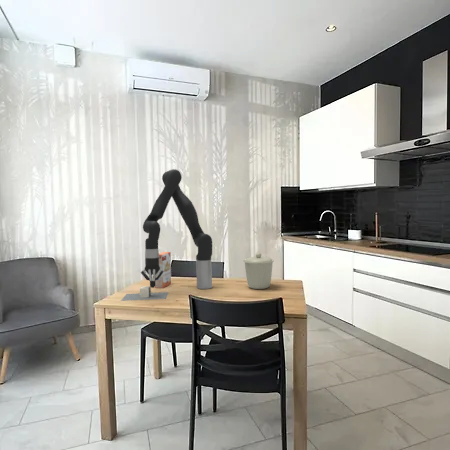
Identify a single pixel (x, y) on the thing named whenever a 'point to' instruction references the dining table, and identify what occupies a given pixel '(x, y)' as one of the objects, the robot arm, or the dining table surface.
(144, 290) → the cube
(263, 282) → the canister
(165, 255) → the cracker box
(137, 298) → the mat
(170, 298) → the dining table surface
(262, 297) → the dining table surface
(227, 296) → the dining table surface
